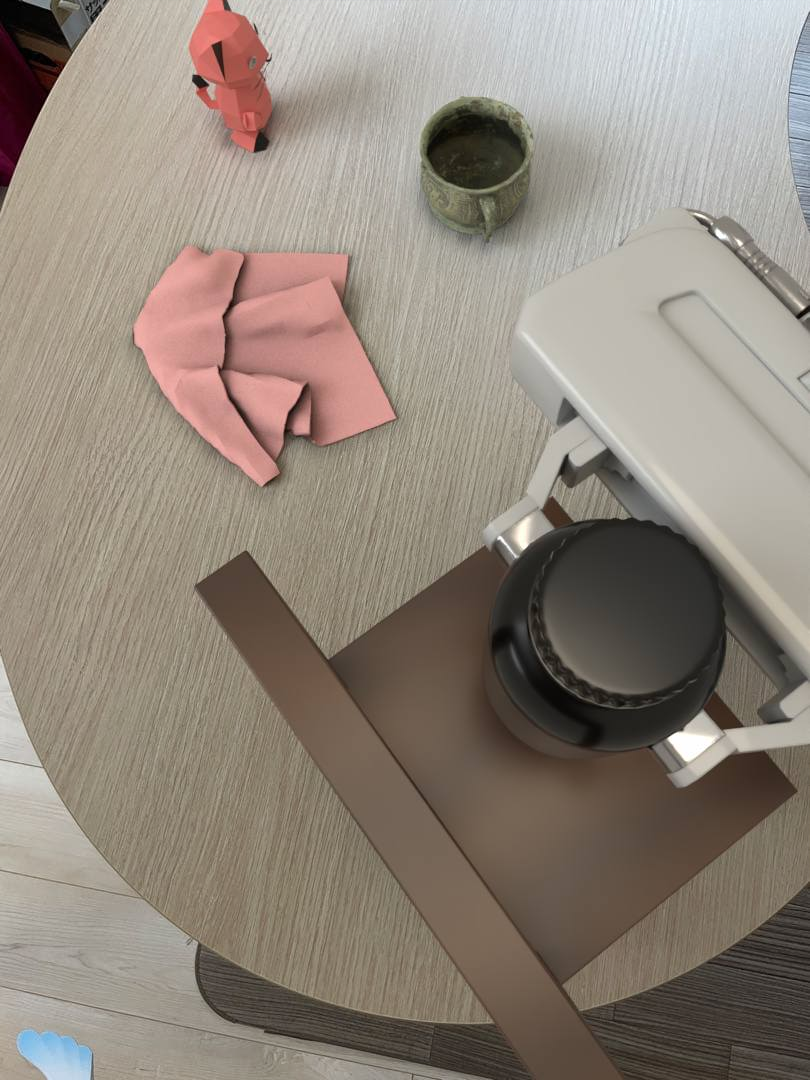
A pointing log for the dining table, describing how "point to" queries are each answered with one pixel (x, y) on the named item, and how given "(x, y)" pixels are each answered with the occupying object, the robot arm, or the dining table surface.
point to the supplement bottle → (604, 638)
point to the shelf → (490, 799)
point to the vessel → (475, 163)
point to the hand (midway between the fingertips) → (577, 658)
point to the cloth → (259, 353)
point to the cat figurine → (232, 72)
